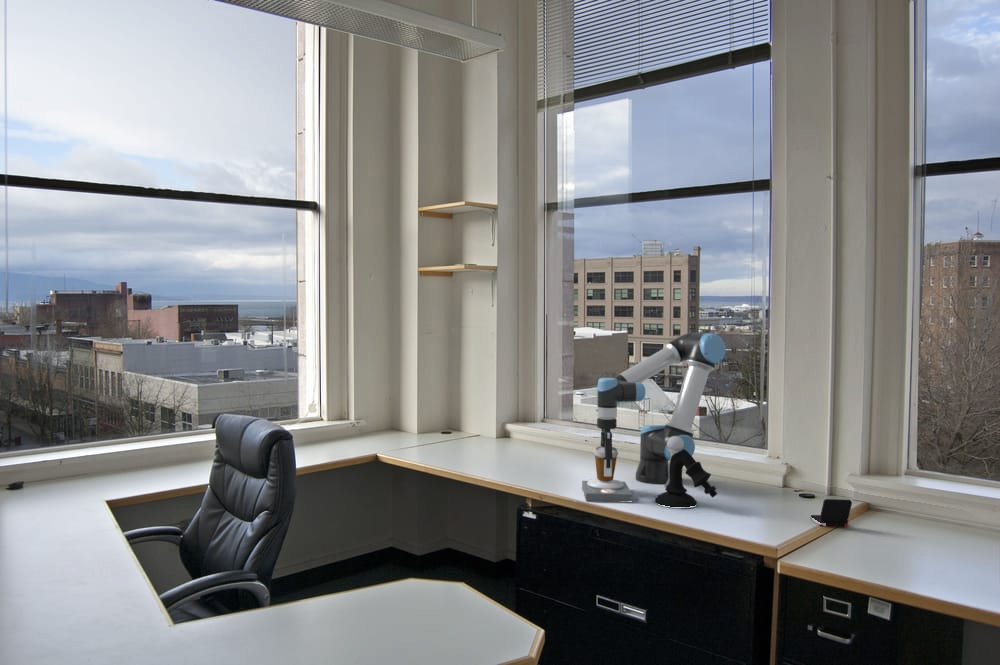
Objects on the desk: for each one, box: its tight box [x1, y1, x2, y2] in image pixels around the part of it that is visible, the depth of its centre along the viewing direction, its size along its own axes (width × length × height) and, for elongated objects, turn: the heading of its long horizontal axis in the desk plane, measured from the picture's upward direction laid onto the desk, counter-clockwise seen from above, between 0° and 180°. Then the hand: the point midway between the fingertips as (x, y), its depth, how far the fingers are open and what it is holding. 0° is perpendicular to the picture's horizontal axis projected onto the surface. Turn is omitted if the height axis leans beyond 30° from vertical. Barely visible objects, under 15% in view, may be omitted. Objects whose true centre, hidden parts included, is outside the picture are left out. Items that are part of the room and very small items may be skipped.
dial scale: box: [581, 478, 633, 502], centre depth 289 cm, size 17×20×4 cm
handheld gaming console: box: [810, 498, 853, 528], centre depth 254 cm, size 9×12×10 cm
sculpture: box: [654, 436, 719, 507], centre depth 275 cm, size 15×24×25 cm, turn 48°
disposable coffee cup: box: [593, 445, 619, 481], centre depth 294 cm, size 10×10×12 cm
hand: (605, 472), depth 292 cm, fingers open, 13 cm apart
